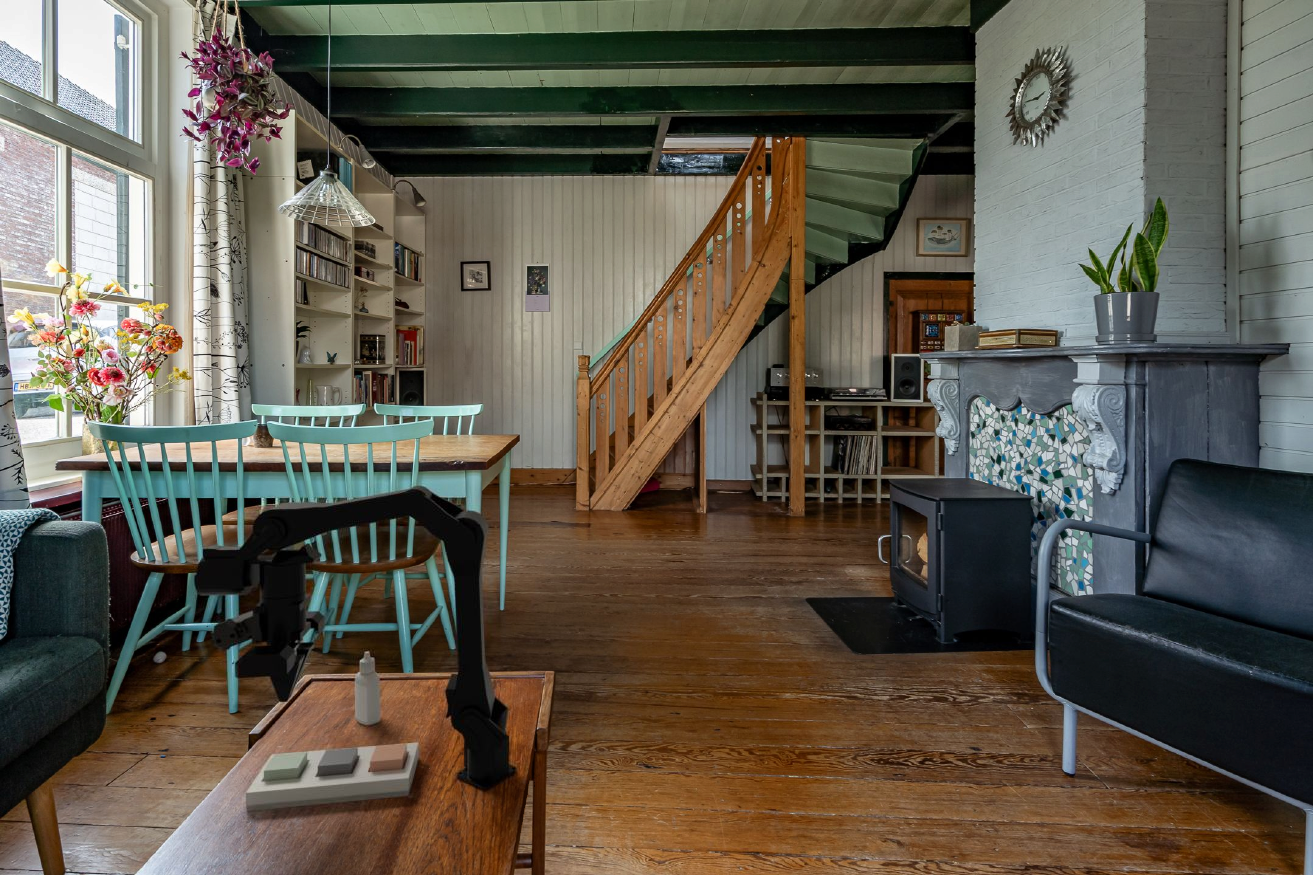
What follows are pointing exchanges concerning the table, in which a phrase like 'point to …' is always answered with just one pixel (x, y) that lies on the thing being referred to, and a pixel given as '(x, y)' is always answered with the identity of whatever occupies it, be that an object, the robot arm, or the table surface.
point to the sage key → (286, 766)
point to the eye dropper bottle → (367, 692)
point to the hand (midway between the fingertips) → (284, 700)
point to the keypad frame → (333, 783)
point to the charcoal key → (338, 762)
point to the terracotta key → (388, 757)
